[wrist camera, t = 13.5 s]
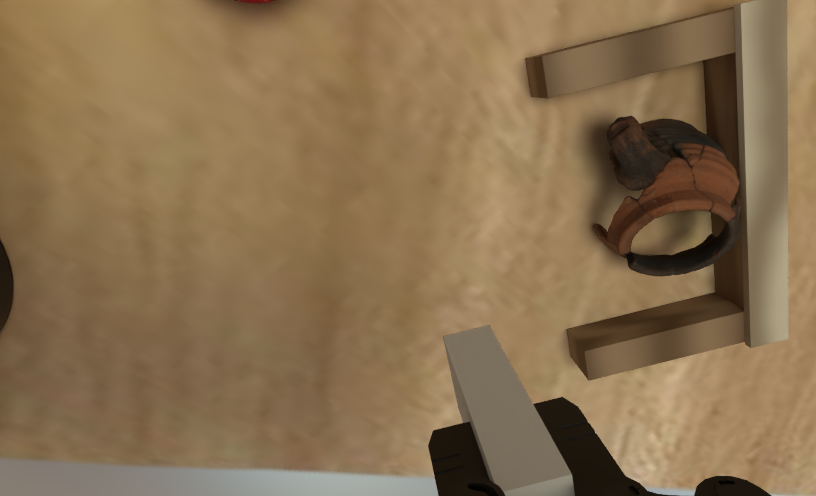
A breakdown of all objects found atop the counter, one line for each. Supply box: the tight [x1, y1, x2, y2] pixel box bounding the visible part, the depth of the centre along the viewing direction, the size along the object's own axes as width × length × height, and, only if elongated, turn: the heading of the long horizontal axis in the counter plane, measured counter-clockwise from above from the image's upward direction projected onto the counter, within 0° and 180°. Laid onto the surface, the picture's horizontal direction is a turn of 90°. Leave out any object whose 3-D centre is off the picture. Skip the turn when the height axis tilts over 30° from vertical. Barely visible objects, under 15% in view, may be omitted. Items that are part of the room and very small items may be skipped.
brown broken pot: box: [594, 116, 742, 276], centre depth 36 cm, size 12×10×8 cm
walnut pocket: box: [525, 0, 788, 380], centre depth 37 cm, size 15×23×4 cm, turn 13°
